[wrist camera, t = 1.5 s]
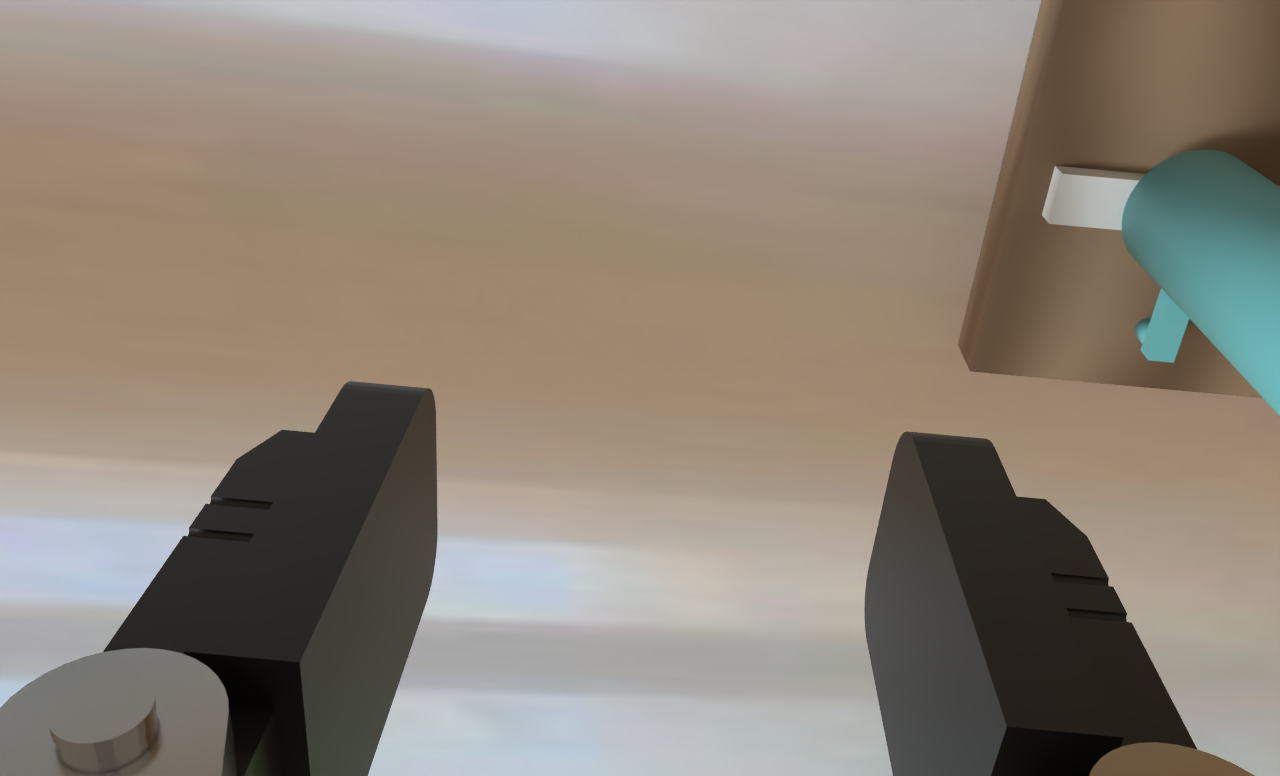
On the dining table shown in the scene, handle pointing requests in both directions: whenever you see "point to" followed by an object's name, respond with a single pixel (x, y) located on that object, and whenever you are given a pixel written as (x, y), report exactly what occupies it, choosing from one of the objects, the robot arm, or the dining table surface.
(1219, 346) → the teal lever handle
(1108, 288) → the gauge board
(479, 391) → the dining table surface
